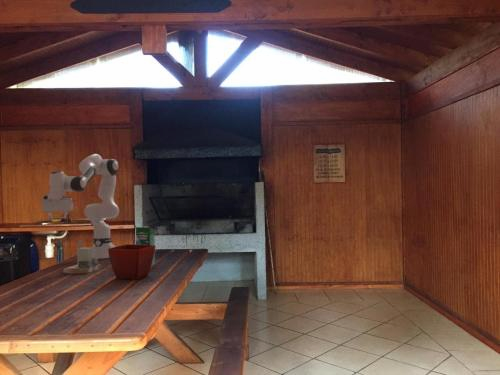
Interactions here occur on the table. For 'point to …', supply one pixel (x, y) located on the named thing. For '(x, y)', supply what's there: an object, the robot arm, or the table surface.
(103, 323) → the table surface
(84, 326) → the table surface
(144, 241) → the milk carton
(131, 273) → the plant pot
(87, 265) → the dock
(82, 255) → the pale green handled box
